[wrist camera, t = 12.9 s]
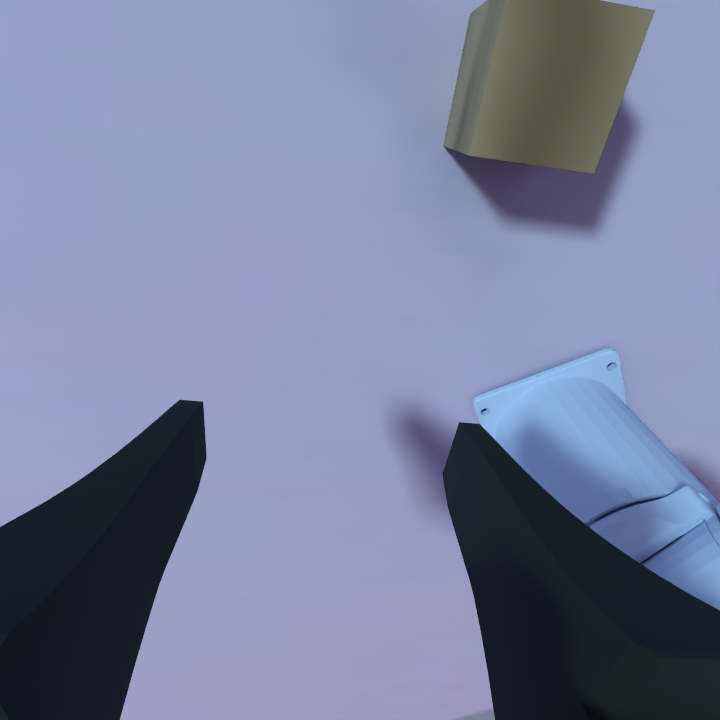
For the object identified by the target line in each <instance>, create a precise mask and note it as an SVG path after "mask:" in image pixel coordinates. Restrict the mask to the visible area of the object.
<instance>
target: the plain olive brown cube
mask: <svg viewBox="0 0 720 720" xmlns="http://www.w3.org/2000/svg"><path fill="white" fill-rule="evenodd" d="M654 12H655V10H649V9H644V8H638V7H633V6H627V5H622V4H617V3H611V2H606V1H600V0H487V1H486V2H485V3H484V4H482V5H481V6H480V7H478V8H477V9H476V10H475V11H473V12H472V13H471V14H470V18H469V23H468V28H467V33H466V38H465V43H464V48H463V53H462V57H461V62H460V67H459V72H458V77H457V82H456V87H455V92H454V97H453V102H452V106H451V111H450V116H449V121H448V126H447V131H446V136H445V141H444V147H447V148H450V149H452V150H455V151H458V152H460V153H463V154H466V155H469V156H475V157H482V158H489V159H496V160H503V161H510V162H516V163H523V164H530V165H537V166H544V167H551V168H558V169H565V170H572V171H579V172H585V173H592V174H594V173H595V170H596V167H597V165H598V162H599V159H600V157H601V154H602V151H603V149H604V146H605V143H606V141H607V138H608V135H609V133H610V130H611V127H612V125H613V122H614V119H615V116H616V114H617V111H618V108H619V106H620V103H621V100H622V98H623V95H624V92H625V90H626V87H627V84H628V82H629V79H630V76H631V74H632V71H633V68H634V65H635V63H636V60H637V57H638V55H639V52H640V49H641V47H642V44H643V41H644V39H645V36H646V33H647V31H648V28H649V25H650V23H651V20H652V17H653V14H654Z"/></svg>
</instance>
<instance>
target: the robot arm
mask: <svg viewBox="0 0 720 720" xmlns="http://www.w3.org/2000/svg"><path fill="white" fill-rule="evenodd" d="M612 362H613V363H612ZM610 363H612V364H611V365H610V366H609V367H607V365H608V364H610ZM472 405H473V407H474V410H475V413H476V415H477V418H478V420H479V423H480V424H472V423H460V422H459V425H458V428H457V431H456V434H455V437H454V440H453V443H452V447H451V450H450V453H449V456H448V459H447V462H446V465H445V468H444V472H443V479H444V486H445V493H446V498H447V504H448V508H449V512H450V516H451V519H452V522H453V526H454V529H455V533H456V536H457V539H458V543H459V546H460V549H461V553H462V556H463V559H464V563H465V566H466V569H467V573H468V576H469V579H470V583H471V587H472V591H473V595H474V599H475V604H476V609H477V614H478V619H479V624H480V629H481V635H482V640H483V646H484V652H485V658H486V663H487V669H488V675H489V682H490V688H491V695H492V702H493V708H494V715H495V720H720V503H719V502H718V501H717V500H716V498H715V497H714V496H713V495H712V494H711V493H710V492H709V491H708V490H707V489H706V488H705V487H704V486H703V485H702V484H701V483H700V482H699V481H698V480H697V479H696V478H695V476H694V475H693V474H692V473H691V472H690V471H689V470H688V469H687V468H686V467H685V466H684V465H683V464H682V463H681V462H680V461H679V460H678V459H677V458H676V457H675V456H674V454H673V453H672V452H671V451H670V450H669V449H668V448H667V447H666V446H665V445H664V444H663V443H662V442H661V441H660V440H659V439H658V438H657V437H656V436H655V435H654V434H653V433H652V431H651V430H650V429H649V428H648V427H647V426H646V425H645V424H644V423H643V422H642V421H641V420H640V419H639V418H638V417H637V416H636V415H635V414H634V413H633V412H632V411H631V409H630V408H629V407H628V405H627V399H626V392H625V386H624V380H623V374H622V368H621V362H620V355H619V353H618V352H617V351H616V350H614V349H613V348H606V349H603V350H600V351H598V352H595V353H592V354H590V355H587V356H584V357H581V358H579V359H576V360H573V361H571V362H568V363H565V364H562V365H560V366H557V367H554V368H551V369H549V370H546V371H543V372H541V373H538V374H535V375H532V376H530V377H527V378H524V379H522V380H519V381H516V382H513V383H511V384H508V385H505V386H503V387H500V388H497V389H494V390H492V391H489V392H486V393H483V394H481V395H478V396H476V397H475V398H474V399H473V401H472ZM484 408H487V410H486V411H483V412H482V411H481V410H482V409H484ZM205 461H206V443H205V426H204V410H203V402H199V401H187V400H179V401H178V402H177V403H175V404H174V405H173V406H172V407H171V408H169V409H168V410H167V411H166V412H165V413H164V414H163V415H161V416H160V417H159V418H158V419H157V420H156V421H155V422H153V423H152V424H151V425H150V426H149V427H148V428H146V429H145V430H144V431H143V432H142V433H141V434H139V435H138V436H137V437H136V438H134V439H133V440H132V441H131V442H130V443H128V444H127V445H126V446H125V447H123V448H122V449H121V450H120V451H118V452H117V453H116V454H115V455H113V456H112V457H111V458H109V459H108V460H107V461H105V462H104V463H102V464H101V465H100V466H98V467H97V468H96V469H94V470H93V471H92V472H90V473H89V474H88V475H86V476H85V477H83V478H82V479H80V480H79V481H77V482H76V483H75V484H73V485H71V486H70V487H68V488H67V489H65V490H64V491H62V492H60V493H59V494H57V495H56V496H54V497H52V498H51V499H49V500H48V501H46V502H44V503H43V504H41V505H39V506H37V507H35V508H34V509H32V510H30V511H28V512H26V513H25V514H23V515H21V516H19V517H17V518H16V519H14V520H12V521H10V522H8V523H7V524H5V525H3V526H1V527H0V720H120V717H121V713H122V709H123V706H124V702H125V698H126V695H127V691H128V688H129V684H130V680H131V677H132V673H133V669H134V666H135V662H136V659H137V656H138V652H139V649H140V645H141V642H142V639H143V635H144V632H145V628H146V625H147V622H148V619H149V615H150V612H151V609H152V606H153V602H154V599H155V596H156V593H157V590H158V586H159V584H160V581H161V578H162V576H163V573H164V570H165V568H166V565H167V563H168V560H169V558H170V556H171V553H172V551H173V548H174V546H175V544H176V541H177V539H178V537H179V534H180V532H181V529H182V527H183V525H184V522H185V520H186V518H187V515H188V513H189V510H190V508H191V505H192V503H193V501H194V498H195V496H196V493H197V490H198V487H199V483H200V480H201V476H202V473H203V469H204V465H205Z"/></svg>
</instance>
